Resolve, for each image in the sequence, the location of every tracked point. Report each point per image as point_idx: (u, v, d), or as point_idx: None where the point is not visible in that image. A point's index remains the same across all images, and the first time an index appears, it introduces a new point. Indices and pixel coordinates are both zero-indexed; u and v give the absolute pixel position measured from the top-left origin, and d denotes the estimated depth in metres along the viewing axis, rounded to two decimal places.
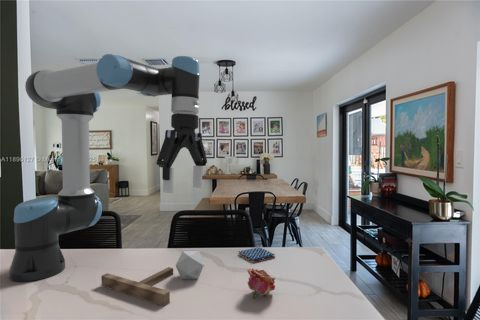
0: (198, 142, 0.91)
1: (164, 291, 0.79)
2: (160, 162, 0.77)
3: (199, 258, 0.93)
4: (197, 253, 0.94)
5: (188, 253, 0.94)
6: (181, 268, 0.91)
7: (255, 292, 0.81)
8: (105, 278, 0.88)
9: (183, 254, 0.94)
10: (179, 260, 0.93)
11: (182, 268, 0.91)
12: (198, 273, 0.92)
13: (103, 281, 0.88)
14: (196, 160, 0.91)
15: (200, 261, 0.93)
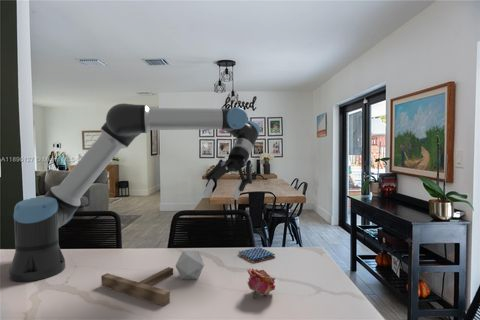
0: (221, 167, 1.20)
1: (164, 291, 0.79)
2: (251, 180, 1.09)
3: (199, 258, 0.93)
4: (197, 253, 0.94)
5: (188, 253, 0.94)
6: (181, 268, 0.91)
7: (255, 292, 0.81)
8: (105, 278, 0.88)
9: (183, 254, 0.94)
10: (179, 260, 0.93)
11: (182, 268, 0.91)
12: (198, 273, 0.92)
13: (103, 281, 0.88)
14: (215, 177, 1.16)
15: (200, 261, 0.93)
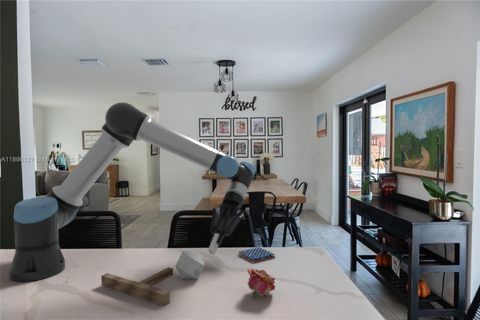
0: (217, 216, 1.15)
1: (164, 291, 0.79)
2: (228, 233, 1.07)
3: (199, 258, 0.93)
4: (197, 253, 0.94)
5: (188, 253, 0.94)
6: (181, 268, 0.91)
7: (255, 292, 0.81)
8: (105, 278, 0.88)
9: (183, 254, 0.94)
10: (179, 260, 0.93)
11: (182, 268, 0.91)
12: (198, 273, 0.92)
13: (103, 281, 0.88)
14: (219, 229, 1.09)
15: (200, 261, 0.93)
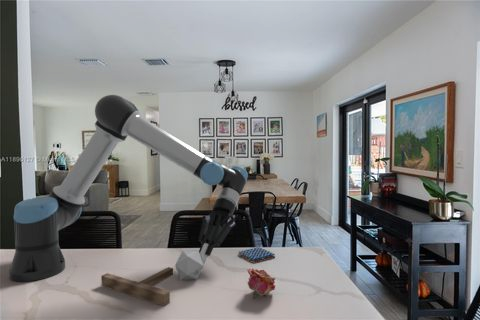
0: (207, 224, 1.08)
1: (164, 291, 0.79)
2: (218, 243, 1.01)
3: (199, 258, 0.93)
4: (197, 253, 0.94)
5: (188, 253, 0.93)
6: (180, 268, 0.91)
7: (255, 292, 0.81)
8: (105, 278, 0.88)
9: (183, 254, 0.93)
10: (178, 260, 0.92)
11: (181, 268, 0.91)
12: (197, 273, 0.92)
13: (103, 281, 0.88)
14: (208, 238, 1.03)
15: (200, 261, 0.92)
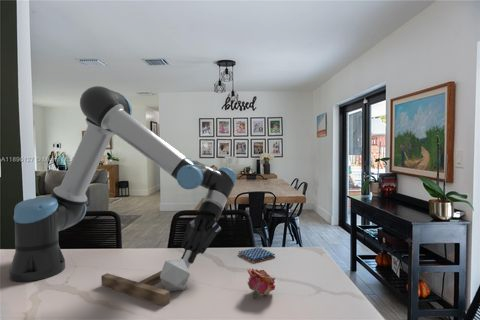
0: (192, 229, 1.02)
1: (164, 291, 0.79)
2: (202, 250, 0.94)
3: (185, 267, 0.87)
4: (182, 261, 0.87)
5: (173, 262, 0.86)
6: (167, 279, 0.83)
7: (255, 292, 0.81)
8: (105, 278, 0.88)
9: (167, 264, 0.86)
10: (163, 271, 0.84)
11: (168, 279, 0.83)
12: (185, 283, 0.86)
13: (103, 281, 0.88)
14: (192, 244, 0.96)
15: (187, 270, 0.86)
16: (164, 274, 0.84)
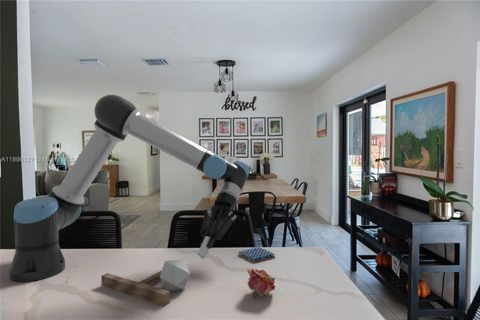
0: (209, 218, 1.09)
1: (164, 291, 0.79)
2: (220, 236, 1.02)
3: (185, 267, 0.87)
4: (182, 261, 0.88)
5: (173, 262, 0.86)
6: (167, 280, 0.83)
7: (255, 292, 0.81)
8: (105, 278, 0.88)
9: (167, 264, 0.86)
10: (163, 271, 0.84)
11: (168, 279, 0.83)
12: (185, 283, 0.86)
13: (103, 281, 0.88)
14: (210, 231, 1.04)
15: (187, 270, 0.86)
16: (164, 274, 0.84)
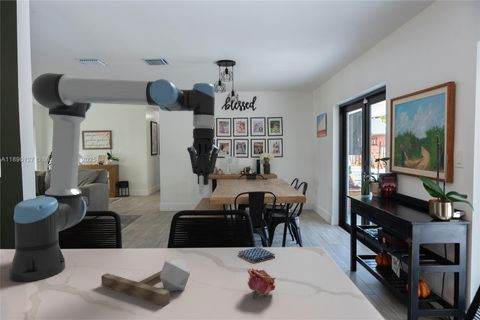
0: (195, 153, 1.12)
1: (164, 291, 0.79)
2: (211, 172, 1.08)
3: (185, 267, 0.87)
4: (182, 261, 0.88)
5: (173, 262, 0.86)
6: (167, 280, 0.83)
7: (255, 292, 0.81)
8: (105, 278, 0.88)
9: (167, 264, 0.86)
10: (163, 271, 0.84)
11: (168, 279, 0.83)
12: (185, 283, 0.86)
13: (103, 281, 0.88)
14: (201, 168, 1.10)
15: (187, 270, 0.86)
16: (164, 274, 0.84)
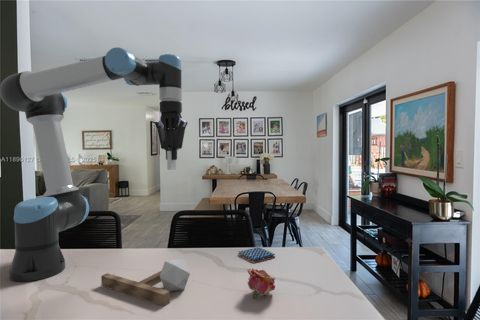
0: (163, 128, 1.09)
1: (164, 291, 0.79)
2: (179, 146, 1.05)
3: (185, 267, 0.87)
4: (182, 261, 0.88)
5: (173, 262, 0.86)
6: (167, 279, 0.83)
7: (255, 292, 0.81)
8: (105, 278, 0.88)
9: (167, 264, 0.86)
10: (163, 271, 0.84)
11: (168, 279, 0.83)
12: (185, 283, 0.86)
13: (103, 281, 0.88)
14: (169, 143, 1.07)
15: (187, 270, 0.86)
16: (164, 274, 0.84)
